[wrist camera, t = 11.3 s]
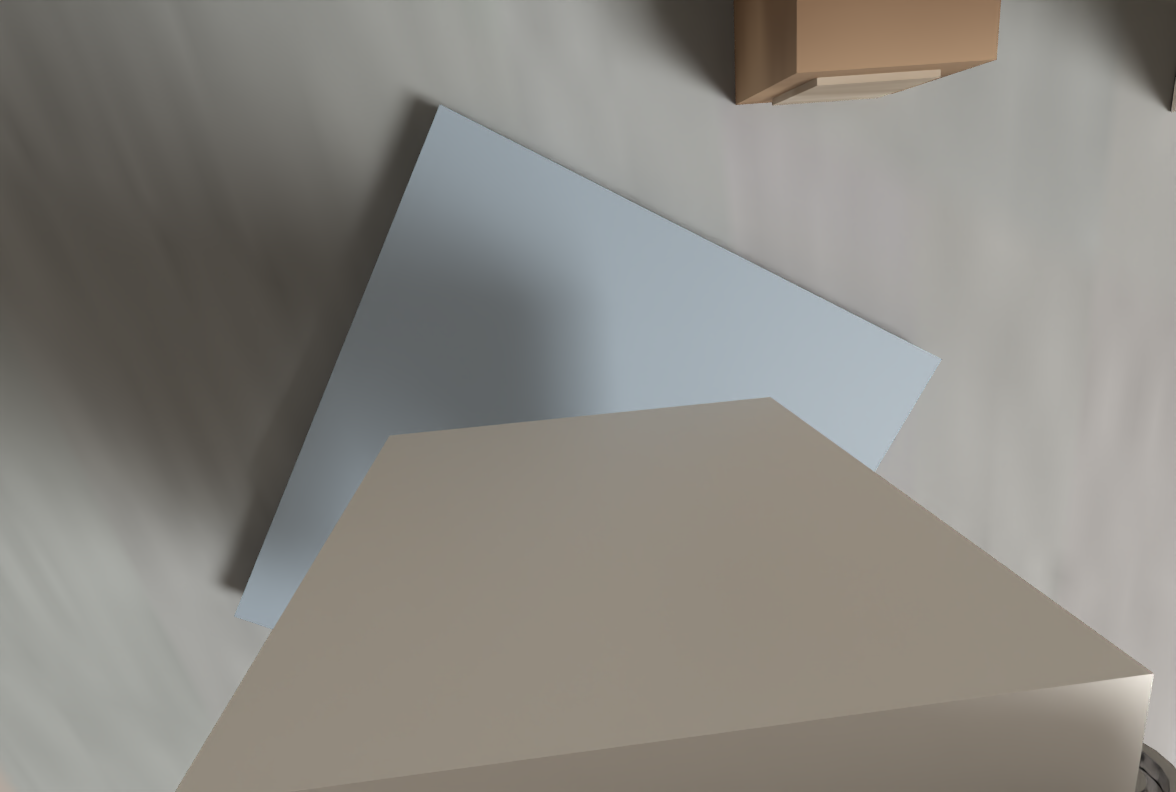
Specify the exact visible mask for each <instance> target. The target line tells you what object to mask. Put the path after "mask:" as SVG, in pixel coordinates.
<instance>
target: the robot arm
mask: <svg viewBox="0 0 1176 792" xmlns="http://www.w3.org/2000/svg"><path fill="white" fill-rule="evenodd" d="M1135 792H1176V769H1175V767H1174V766H1173V765H1172V764H1171V763H1170V762H1169V761H1168V760H1166V759H1165V758H1164V757H1163V756H1162V755H1161V754H1159V753H1158V752H1157V751H1156V750H1154V749H1152V748H1151V747H1149V746H1147V745H1146V744H1144V743H1143V745H1142V751H1141V757H1140V763H1139V770H1138V776H1137V782H1136V788H1135Z"/></svg>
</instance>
